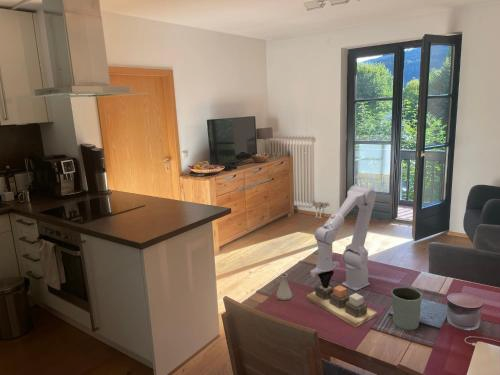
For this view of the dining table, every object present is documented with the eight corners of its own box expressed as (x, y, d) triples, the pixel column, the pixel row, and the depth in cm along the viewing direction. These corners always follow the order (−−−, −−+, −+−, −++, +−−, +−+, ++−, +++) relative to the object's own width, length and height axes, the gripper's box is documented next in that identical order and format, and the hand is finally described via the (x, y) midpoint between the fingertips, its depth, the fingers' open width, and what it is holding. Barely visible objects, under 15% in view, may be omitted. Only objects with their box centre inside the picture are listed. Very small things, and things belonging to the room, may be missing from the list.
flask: (292, 301, 152) (291, 279, 150) (274, 300, 153) (274, 278, 151) (293, 292, 159) (293, 271, 157) (277, 291, 160) (276, 270, 158)
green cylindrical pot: (417, 334, 127) (419, 303, 124) (387, 326, 132) (388, 296, 130) (422, 319, 135) (424, 289, 133) (393, 312, 141) (394, 283, 138)
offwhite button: (325, 290, 155) (325, 283, 154) (331, 293, 152) (331, 287, 151) (319, 293, 153) (319, 286, 152) (325, 296, 150) (325, 289, 149)
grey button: (355, 300, 141) (355, 293, 140) (363, 304, 138) (363, 296, 138) (349, 303, 139) (349, 296, 139) (356, 307, 136) (356, 299, 136)
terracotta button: (339, 291, 148) (339, 285, 147) (346, 295, 145) (346, 288, 144) (333, 294, 146) (333, 288, 145) (340, 298, 143) (340, 291, 142)
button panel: (326, 289, 160) (326, 278, 159) (377, 315, 139) (377, 303, 138) (306, 298, 154) (306, 287, 153) (355, 327, 133) (356, 315, 131)
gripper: (330, 248, 156) (330, 278, 159) (305, 258, 148) (305, 288, 151) (343, 253, 150) (343, 284, 153) (317, 263, 142) (317, 295, 145)
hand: (325, 287), depth 152 cm, fingers closed, pressing on offwhite button
